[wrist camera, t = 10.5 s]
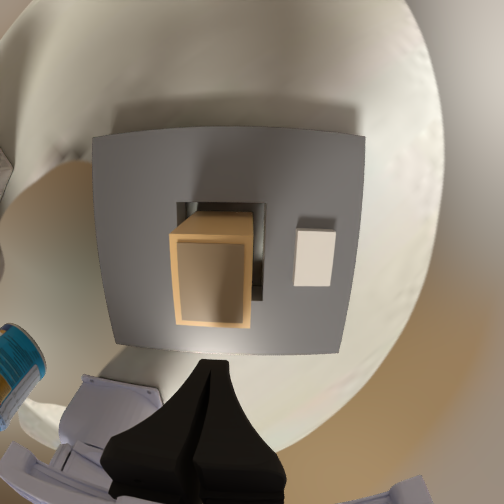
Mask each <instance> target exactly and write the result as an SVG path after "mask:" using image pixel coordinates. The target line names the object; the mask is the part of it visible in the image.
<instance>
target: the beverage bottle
mask: <svg viewBox="0 0 504 504" xmlns="http://www.w3.org/2000/svg"><path fill="white" fill-rule="evenodd" d="M45 373H46V362H45V359H44V356H43V354H42V352H41V350H40V348H39V347H38V345H37V344H36V342H35V341H34V340H33V338H32V337H31V336H30V335H29V334H28V333H27V332H26V331H25V330H24V329H22V328H21V327H20V326H18V325H16V324H13V323H7V324H5V325H4V326H2V327H1V328H0V431H3V430H5V429H6V428H7V427H8V426H9V424H10V420H11V419H12V417H13V416H14V414H15V413H16V412H17V410H18V409H19V407H20V406H21V405H22V403H23V402H24V400H25V399H26V398H27V396H28V395H29V394H30V392H31V391H32V390H33V388H34V387H35V386H36V385H37V383H38V382H39V381H40V380H41V379H42V378H43V377H44V375H45Z"/></svg>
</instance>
